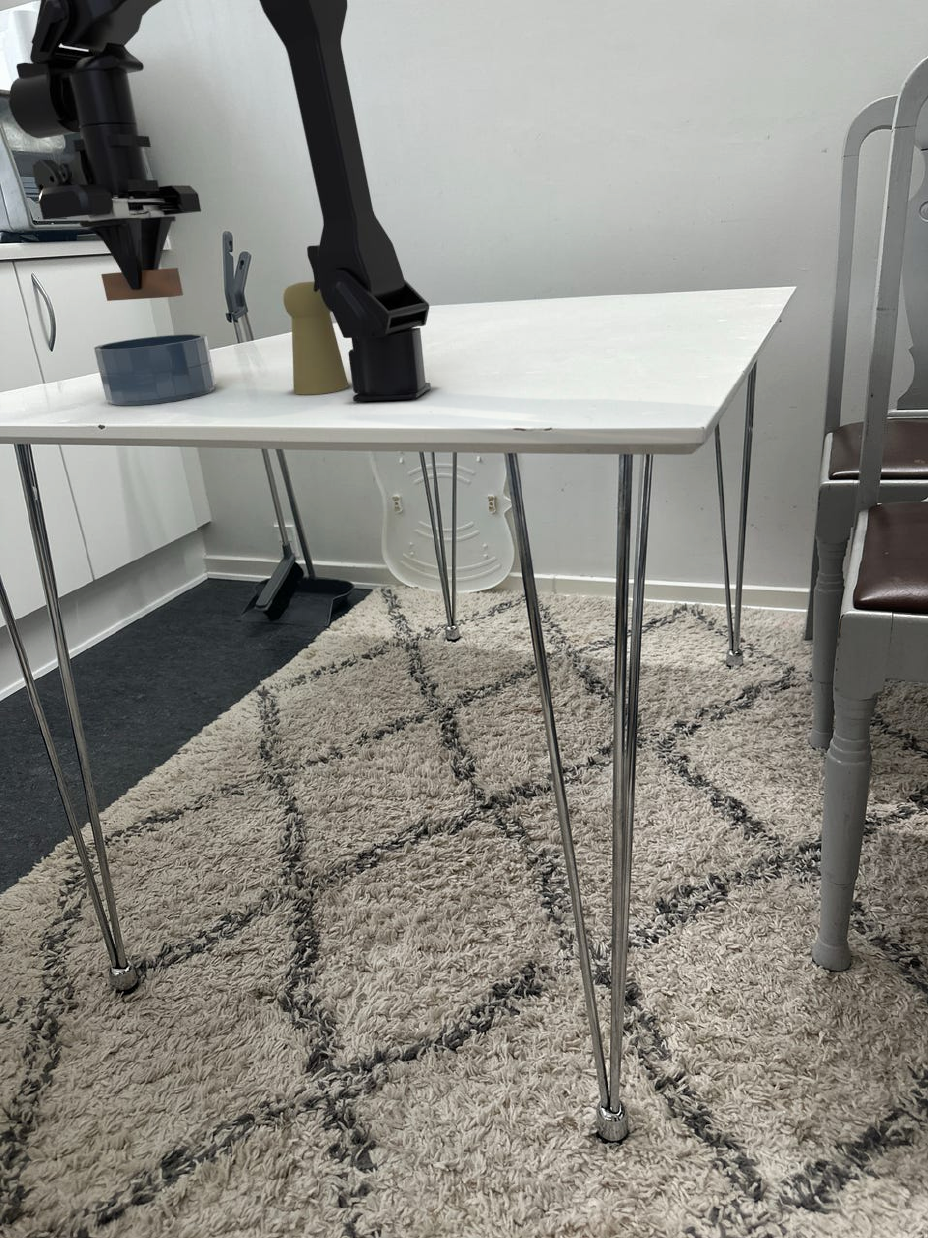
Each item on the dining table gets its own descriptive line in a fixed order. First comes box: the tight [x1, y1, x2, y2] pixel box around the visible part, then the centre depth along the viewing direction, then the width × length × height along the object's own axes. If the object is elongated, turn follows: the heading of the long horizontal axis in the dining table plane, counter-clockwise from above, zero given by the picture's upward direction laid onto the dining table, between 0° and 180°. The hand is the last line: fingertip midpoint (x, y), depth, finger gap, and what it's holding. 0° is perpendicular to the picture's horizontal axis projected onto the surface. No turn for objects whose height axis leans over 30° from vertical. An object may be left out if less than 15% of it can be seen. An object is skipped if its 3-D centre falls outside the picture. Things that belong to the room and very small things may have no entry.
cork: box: [282, 281, 350, 396], centre depth 95 cm, size 6×6×11 cm
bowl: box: [93, 333, 217, 407], centre depth 102 cm, size 12×12×6 cm
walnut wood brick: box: [101, 267, 184, 302], centre depth 97 cm, size 9×2×3 cm, turn 70°
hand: (142, 288), depth 98 cm, fingers closed on walnut wood brick, 2 cm apart
